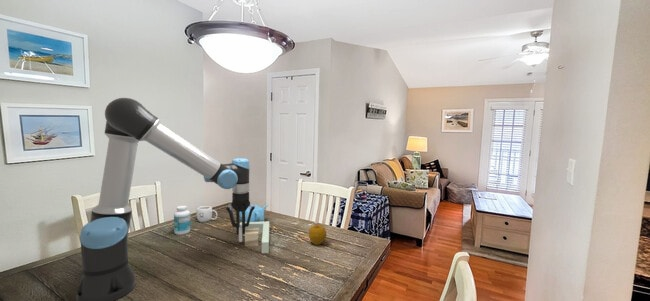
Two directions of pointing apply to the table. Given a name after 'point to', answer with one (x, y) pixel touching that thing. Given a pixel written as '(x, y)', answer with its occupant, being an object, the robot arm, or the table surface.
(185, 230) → the pill bottle
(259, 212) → the teapot
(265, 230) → the fence
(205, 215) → the mug
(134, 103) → the robot arm
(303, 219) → the table surface
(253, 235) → the maple block
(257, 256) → the table surface
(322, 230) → the apple
